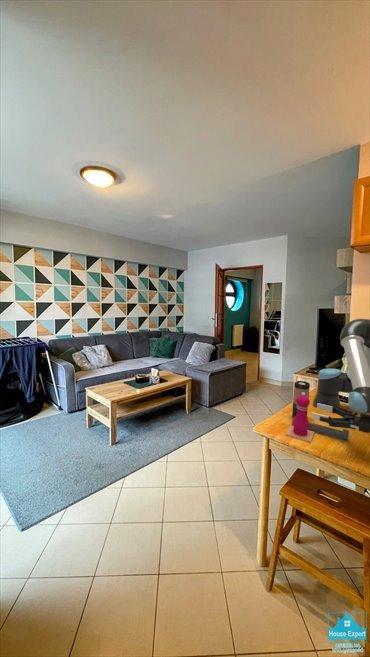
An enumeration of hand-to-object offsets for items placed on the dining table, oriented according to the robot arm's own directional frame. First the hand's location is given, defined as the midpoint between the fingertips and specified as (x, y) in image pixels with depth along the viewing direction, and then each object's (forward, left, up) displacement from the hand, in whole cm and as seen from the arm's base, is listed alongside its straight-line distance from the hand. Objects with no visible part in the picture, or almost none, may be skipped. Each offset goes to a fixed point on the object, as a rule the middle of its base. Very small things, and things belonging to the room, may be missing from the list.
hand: (314, 410), depth 119 cm
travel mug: (-8, -19, -13) cm, 25 cm away
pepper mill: (+3, -4, -13) cm, 14 cm away
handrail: (-7, -4, -13) cm, 15 cm away
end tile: (+3, -4, -13) cm, 14 cm away
